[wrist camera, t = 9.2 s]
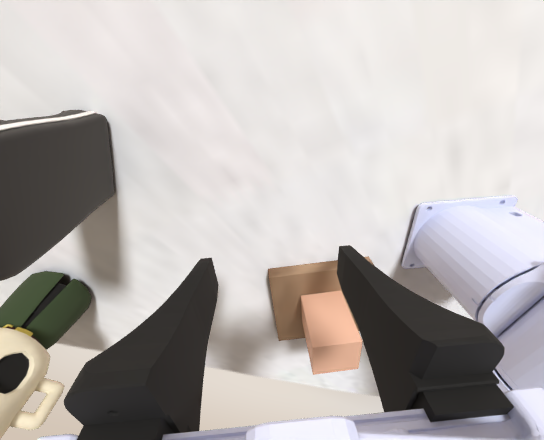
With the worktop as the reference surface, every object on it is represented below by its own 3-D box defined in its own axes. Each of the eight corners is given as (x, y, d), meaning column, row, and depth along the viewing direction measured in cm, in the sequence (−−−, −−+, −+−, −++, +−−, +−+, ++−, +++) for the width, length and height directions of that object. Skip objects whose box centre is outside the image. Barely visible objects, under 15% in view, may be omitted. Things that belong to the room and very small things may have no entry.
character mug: (126, 292, 27) (34, 446, 16) (101, 325, 29) (6, 478, 18) (13, 242, 23) (-221, 402, 12) (-5, 286, 25) (-212, 451, 14)
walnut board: (366, 252, 27) (373, 265, 25) (358, 316, 32) (364, 330, 31) (267, 265, 27) (268, 277, 25) (277, 326, 32) (278, 340, 31)
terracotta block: (340, 290, 27) (362, 341, 21) (339, 316, 29) (358, 368, 24) (300, 295, 27) (312, 347, 21) (302, 321, 29) (313, 374, 24)
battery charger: (50, 98, 17) (-231, 127, 7) (109, 111, 18) (-76, 153, 8) (68, 188, 20) (-106, 291, 11) (117, 196, 21) (-5, 301, 11)
